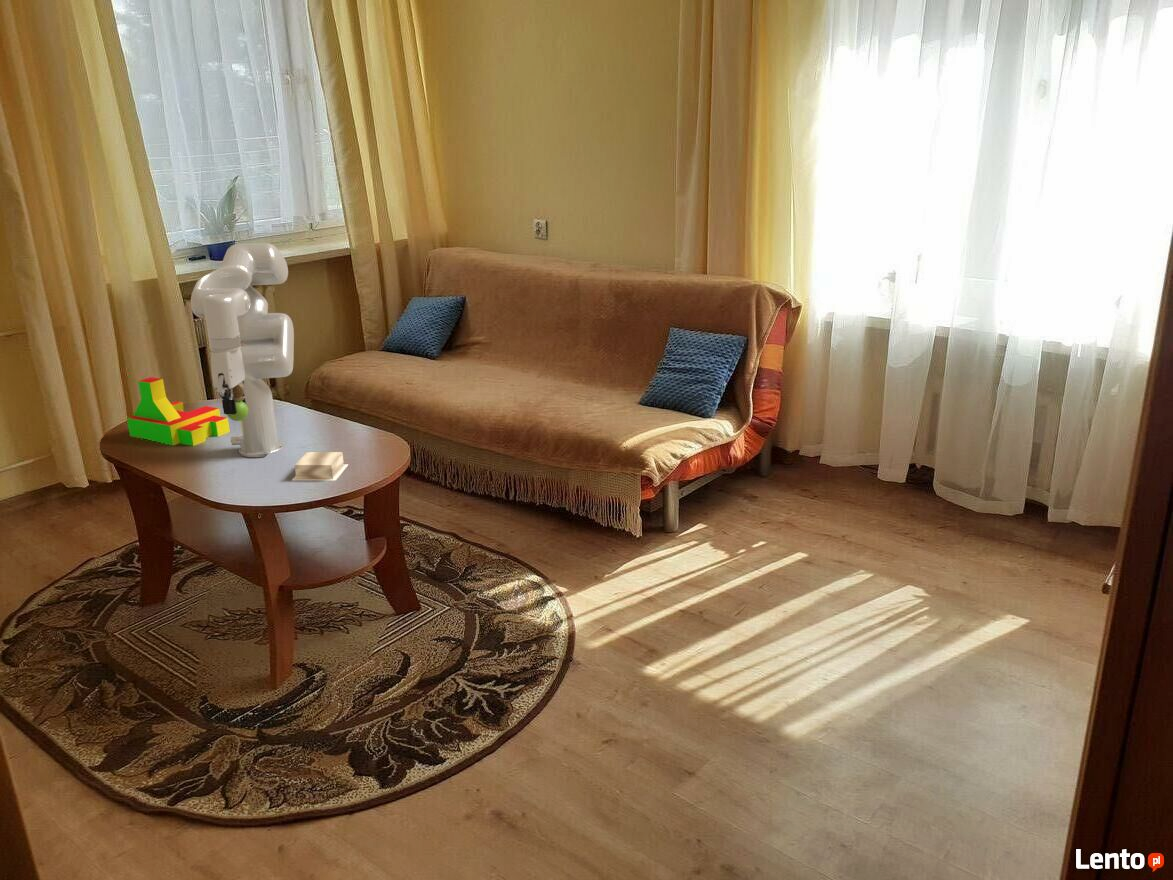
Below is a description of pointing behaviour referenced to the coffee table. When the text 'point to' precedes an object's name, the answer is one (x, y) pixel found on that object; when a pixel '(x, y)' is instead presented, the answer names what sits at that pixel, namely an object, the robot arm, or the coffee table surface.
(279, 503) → the coffee table surface
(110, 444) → the coffee table surface
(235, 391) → the snail figurine
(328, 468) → the pedestal block
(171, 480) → the coffee table surface
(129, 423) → the building blocks toy
